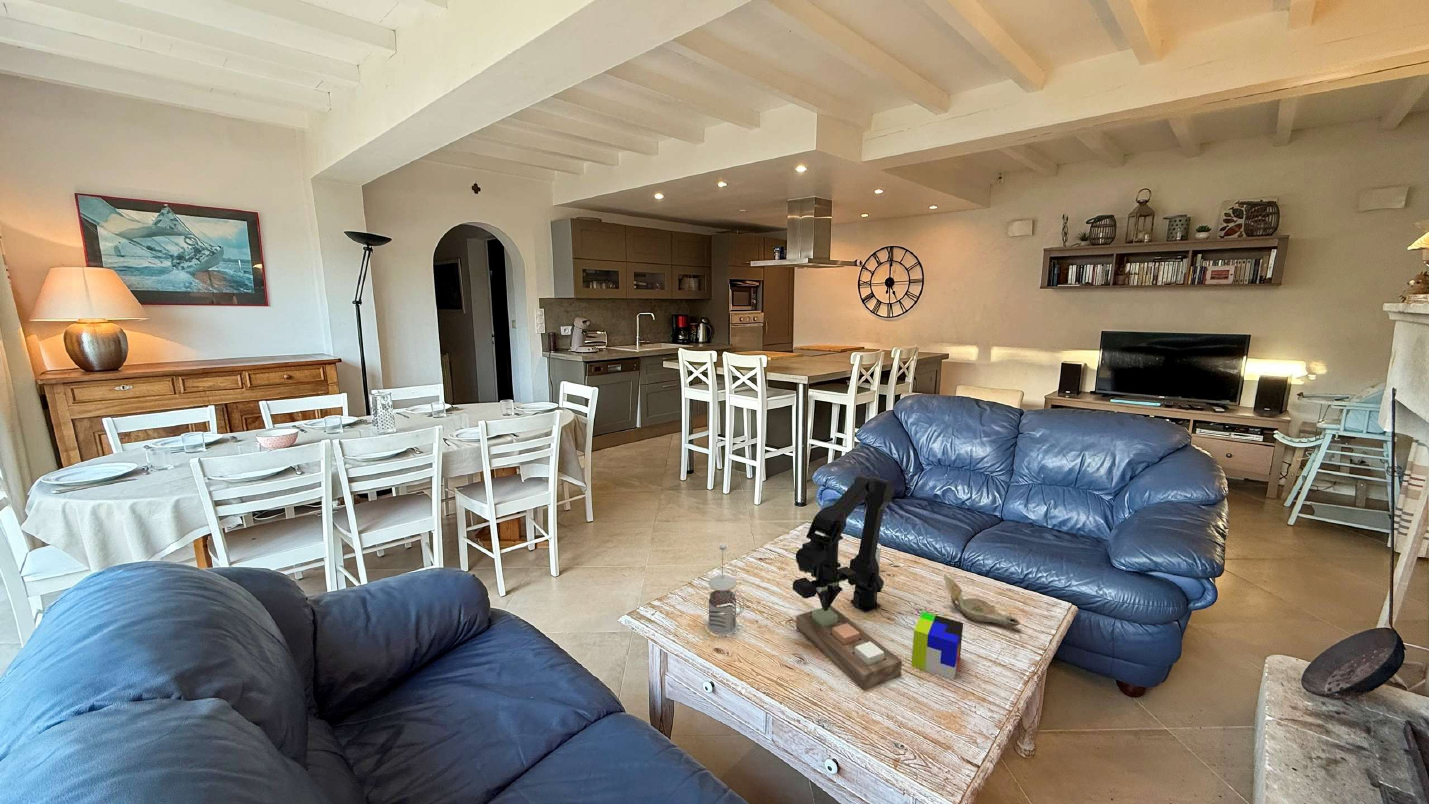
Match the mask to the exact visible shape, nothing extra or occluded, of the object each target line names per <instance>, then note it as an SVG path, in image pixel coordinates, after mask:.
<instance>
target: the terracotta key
mask: <svg viewBox="0 0 1429 804" xmlns="http://www.w3.org/2000/svg"><path fill="white" fill-rule="evenodd" d="M832 636H833V637H834V638H835V639H836V640H838V641H839V642H840V643H841V644H842V645H843V646H845V645H848V644H851V643H854V642H857V641H859V639H860V633H859V632H858V631H857V630H855V629H854V628H853V627H852V626H850V625H849V624H848V623H846V624H843V625H840V626H837V627H834V628H832Z"/></svg>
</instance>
